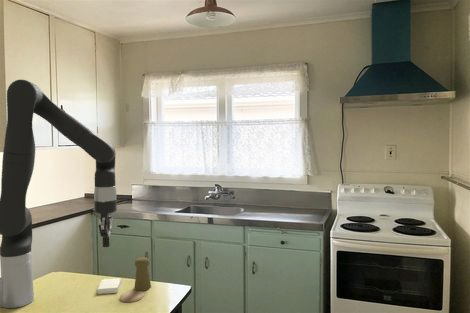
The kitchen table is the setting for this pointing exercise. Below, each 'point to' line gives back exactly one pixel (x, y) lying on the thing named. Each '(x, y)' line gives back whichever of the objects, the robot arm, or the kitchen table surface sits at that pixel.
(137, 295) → the disc
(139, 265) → the pepper shaker
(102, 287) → the tile
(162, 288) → the kitchen table surface
